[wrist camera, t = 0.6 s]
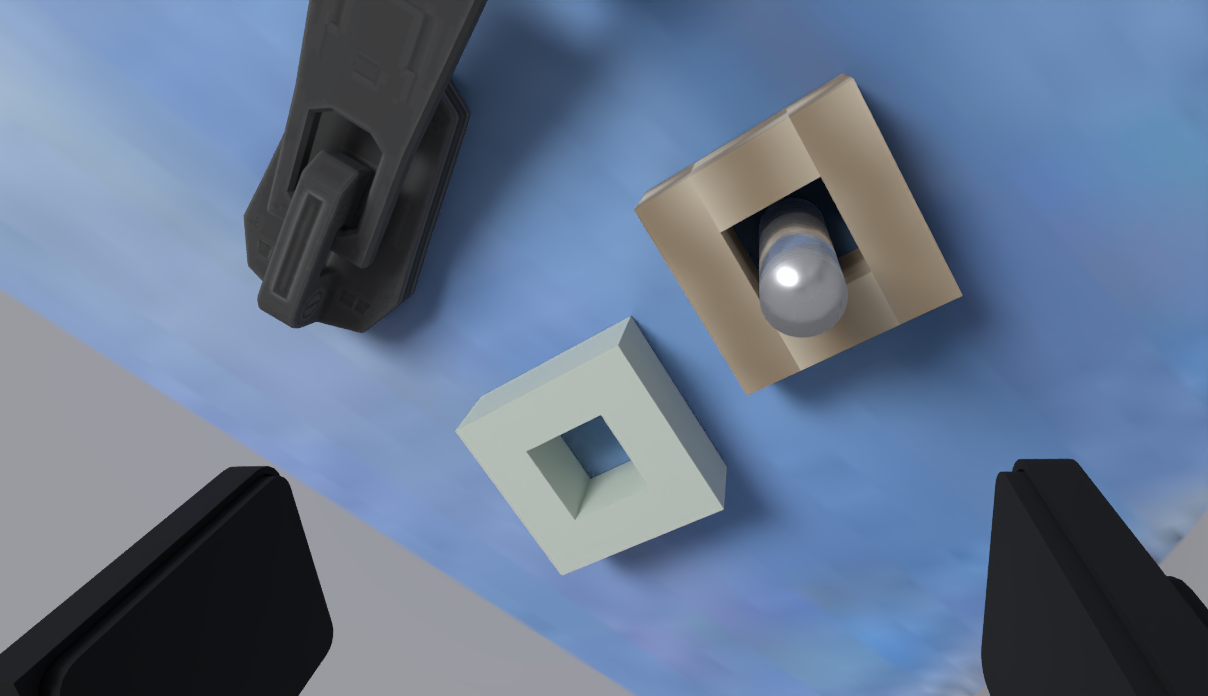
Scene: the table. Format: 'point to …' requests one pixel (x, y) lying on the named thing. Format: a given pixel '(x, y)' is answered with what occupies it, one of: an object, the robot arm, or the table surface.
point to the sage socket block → (556, 478)
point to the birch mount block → (765, 175)
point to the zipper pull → (360, 160)
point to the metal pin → (799, 270)
